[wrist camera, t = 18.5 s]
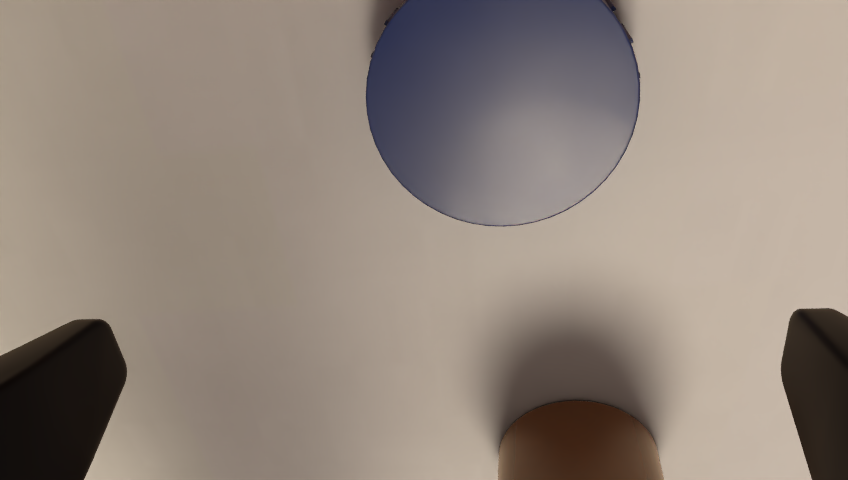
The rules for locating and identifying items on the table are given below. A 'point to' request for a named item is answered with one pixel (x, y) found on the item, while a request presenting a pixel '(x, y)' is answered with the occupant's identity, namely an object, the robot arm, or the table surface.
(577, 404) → the jar
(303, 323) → the table surface
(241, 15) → the table surface
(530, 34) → the lid
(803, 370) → the robot arm
